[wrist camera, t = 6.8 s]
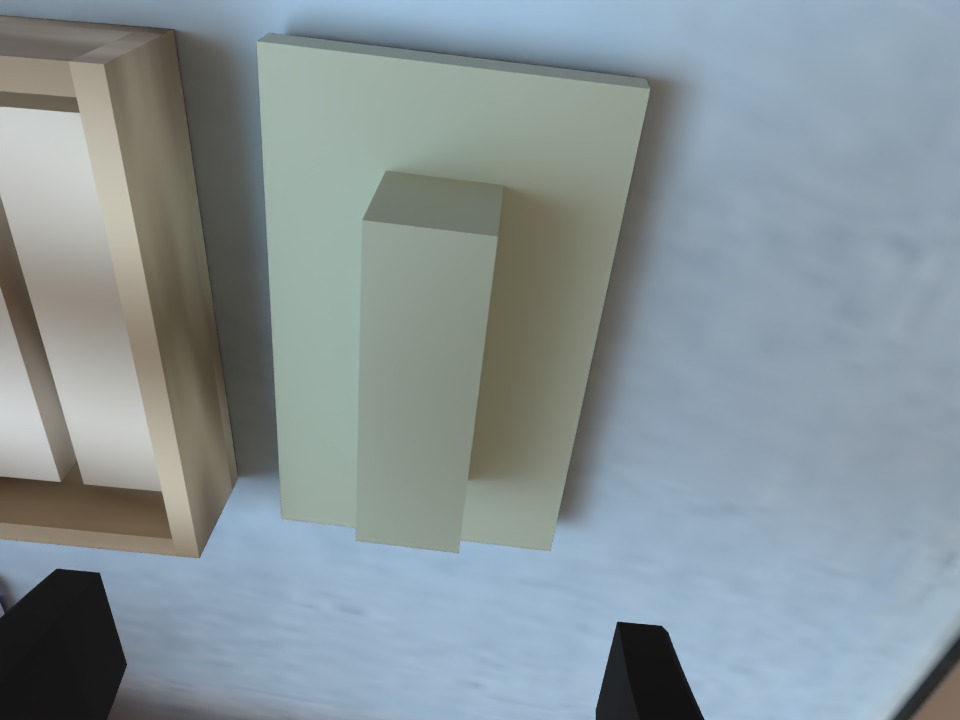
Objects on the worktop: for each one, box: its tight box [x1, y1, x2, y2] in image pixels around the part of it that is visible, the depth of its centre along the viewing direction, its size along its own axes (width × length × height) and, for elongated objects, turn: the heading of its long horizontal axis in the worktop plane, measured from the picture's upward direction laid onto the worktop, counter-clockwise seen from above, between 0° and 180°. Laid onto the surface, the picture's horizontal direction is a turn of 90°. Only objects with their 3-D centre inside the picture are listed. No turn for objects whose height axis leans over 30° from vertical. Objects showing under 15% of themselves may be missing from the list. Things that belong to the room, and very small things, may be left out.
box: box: [0, 15, 238, 558], centre depth 18 cm, size 12×7×3 cm, turn 176°
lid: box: [257, 33, 650, 553], centre depth 18 cm, size 12×7×4 cm, turn 174°
